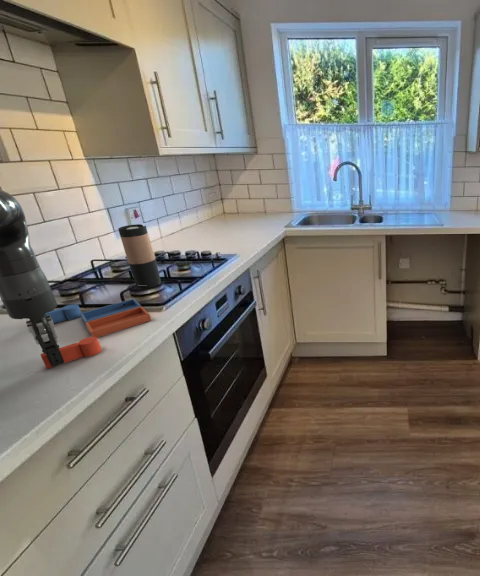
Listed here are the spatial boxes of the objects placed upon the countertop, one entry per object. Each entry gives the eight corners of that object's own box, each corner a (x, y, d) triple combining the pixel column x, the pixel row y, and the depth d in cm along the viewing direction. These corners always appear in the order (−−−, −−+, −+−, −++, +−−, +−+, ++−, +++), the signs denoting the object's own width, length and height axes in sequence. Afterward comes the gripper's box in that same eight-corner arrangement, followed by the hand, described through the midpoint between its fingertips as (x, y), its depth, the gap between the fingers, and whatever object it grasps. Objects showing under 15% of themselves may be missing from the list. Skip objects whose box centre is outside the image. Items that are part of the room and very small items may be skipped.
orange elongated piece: (47, 371, 78) (41, 358, 76) (45, 364, 80) (39, 352, 79) (103, 352, 84) (98, 340, 83) (100, 346, 87) (95, 334, 85)
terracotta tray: (93, 338, 90) (90, 332, 89) (87, 328, 95) (85, 322, 94) (151, 320, 99) (149, 314, 98) (143, 312, 104) (141, 306, 103)
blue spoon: (36, 329, 95) (31, 319, 94) (35, 325, 98) (30, 314, 96) (83, 316, 102) (79, 306, 101) (81, 312, 104) (77, 302, 103)
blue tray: (87, 328, 95) (84, 321, 95) (82, 319, 100) (79, 313, 99) (143, 311, 104) (141, 305, 103) (135, 304, 109) (134, 298, 108)
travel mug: (132, 290, 119) (113, 230, 111) (141, 281, 126) (124, 225, 118) (157, 287, 120) (140, 228, 113) (165, 279, 127) (149, 223, 119)
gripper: (-1, 287, 75) (32, 357, 82) (0, 307, 66) (38, 383, 73) (46, 277, 80) (74, 344, 87) (53, 294, 71) (84, 367, 78)
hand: (57, 362), depth 80 cm, fingers closed on orange elongated piece, 1 cm apart
